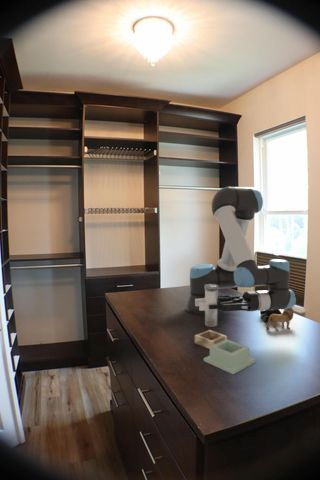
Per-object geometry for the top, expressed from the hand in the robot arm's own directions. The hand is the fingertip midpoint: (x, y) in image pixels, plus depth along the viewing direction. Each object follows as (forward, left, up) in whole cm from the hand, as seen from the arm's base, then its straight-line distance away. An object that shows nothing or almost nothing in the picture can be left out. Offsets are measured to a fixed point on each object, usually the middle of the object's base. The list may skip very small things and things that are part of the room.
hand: (197, 304), depth 119 cm
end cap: (+3, +46, -16) cm, 48 cm away
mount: (+2, +5, -16) cm, 16 cm away
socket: (+16, -2, -16) cm, 23 cm away
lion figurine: (+12, +39, -16) cm, 44 cm away
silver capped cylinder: (+2, +5, -8) cm, 10 cm away
